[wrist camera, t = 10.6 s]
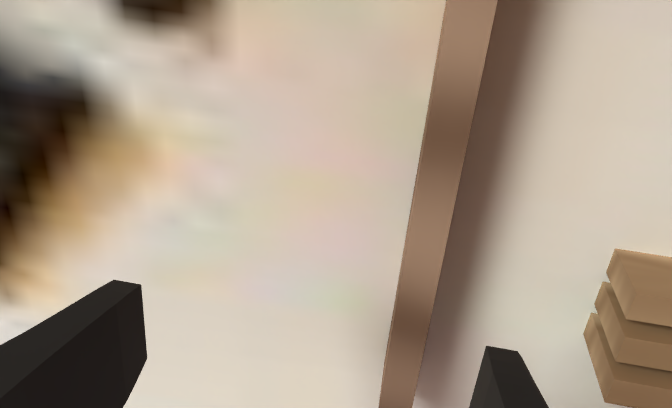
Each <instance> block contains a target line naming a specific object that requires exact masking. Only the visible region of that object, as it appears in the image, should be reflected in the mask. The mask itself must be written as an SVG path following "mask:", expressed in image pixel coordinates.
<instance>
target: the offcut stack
mask: <svg viewBox="0 0 672 408" xmlns="http://www.w3.org/2000/svg"><path fill="white" fill-rule="evenodd" d="M606 273H607V275H608V278H609V280H610V283H608V282H602V285H601V288H600V290H599V293H598V296H597V299H596V301H595V307H596V310H597V313H598V314H596V313H591V315H590V317H589V320H588V323H587V325H586V328H585V331H584V333H583V334H584V338H585V341H586V344H587V347H588V350H589V354H590V357H591V360H592V363H593V366H594V370H595V373H596V376H597V379H598V382H599V386H600V389H601V392H602V395H603V398H604V402H606V403H611V404H617V405H622V406H627V407H633V408H672V257H666V256H660V255H653V254H647V253H640V252H634V251H628V250H621V249H615V250H614V253H613V256H612V258H611V261H610V264H609V266H608V269H607V272H606Z"/></svg>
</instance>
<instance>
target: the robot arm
mask: <svg viewBox="0 0 672 408" xmlns="http://www.w3.org/2000/svg"><path fill="white" fill-rule="evenodd" d="M146 360H147V351H146V339H145V326H144V314H143V302H142V290H141V285H140V284H135V283H129V282H123V281H118V280H113V281H111V282H109V283H107V284H105V285H104V286H102V287H100V288H98V289H97V290H95V291H93V292H92V293H90V294H88V295H87V296H85V297H83V298H82V299H80V300H78V301H77V302H75V303H73V304H72V305H70V306H68V307H67V308H65V309H63V310H62V311H60V312H58V313H56V314H55V315H53V316H51V317H50V318H48V319H46V320H45V321H43V322H41V323H39V324H38V325H36V326H34V327H33V328H31V329H29V330H27V331H26V332H24V333H22V334H20V335H18V336H17V337H15V338H13V339H11V340H9V341H7V342H5V343H4V344H2V345H0V408H123V406H124V405H125V403H126V401H127V400H128V398H129V395H130V393H131V391H132V389H133V387H134V385H135V383H136V381H137V379H138V377H139V375H140V373H141V370H142V368H143V366H144V364H145V362H146ZM469 408H549V407H548V405H547V404H546V402H545V400H544V398H543V396H542V395H541V393H540V391H539V389H538V387H537V386H536V384H535V382H534V380H533V378H532V376H531V374H530V372H529V370H528V369H527V367H526V365H525V363H524V361H523V359H522V357H521V356H520V354H519V353H518V351H513V350H507V349H501V348H496V347H490V346H486V348H485V352H484V356H483V359H482V363H481V367H480V370H479V374H478V378H477V381H476V385H475V388H474V392H473V396H472V399H471V403H470V407H469Z"/></svg>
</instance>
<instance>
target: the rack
mask: <svg viewBox="0 0 672 408" xmlns="http://www.w3.org/2000/svg"><path fill="white" fill-rule="evenodd" d="M497 2H498V0H446V6H445V12H444V18H443V23H442V29H441V35H440V41H439V47H438V53H437V59H436V64H435V70H434V76H433V82H432V88H431V94H430V99H429V105H428V111H427V117H426V123H425V129H424V134H423V140H422V146H421V152H420V158H419V164H418V170H417V175H416V181H415V187H414V193H413V199H412V205H411V210H410V216H409V222H408V228H407V234H406V240H405V246H404V251H403V257H402V263H401V269H400V275H399V281H398V286H397V292H396V298H395V304H394V310H393V316H392V321H391V327H390V333H389V339H388V345H387V351H386V357H385V362H384V370H383V378H382V385H381V393H380V401H379V408H412V405H413V400H414V396H415V391H416V386H417V381H418V377H419V372H420V367H421V362H422V358H423V353H424V348H425V344H426V339H427V334H428V329H429V325H430V320H431V315H432V310H433V306H434V301H435V296H436V291H437V287H438V282H439V277H440V272H441V268H442V263H443V258H444V253H445V249H446V244H447V239H448V234H449V230H450V225H451V220H452V215H453V211H454V206H455V201H456V196H457V192H458V187H459V182H460V177H461V173H462V168H463V163H464V158H465V154H466V149H467V144H468V139H469V135H470V130H471V125H472V120H473V116H474V111H475V106H476V101H477V97H478V92H479V87H480V82H481V78H482V73H483V68H484V63H485V59H486V54H487V49H488V44H489V40H490V35H491V30H492V25H493V21H494V16H495V11H496V6H497Z"/></svg>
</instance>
